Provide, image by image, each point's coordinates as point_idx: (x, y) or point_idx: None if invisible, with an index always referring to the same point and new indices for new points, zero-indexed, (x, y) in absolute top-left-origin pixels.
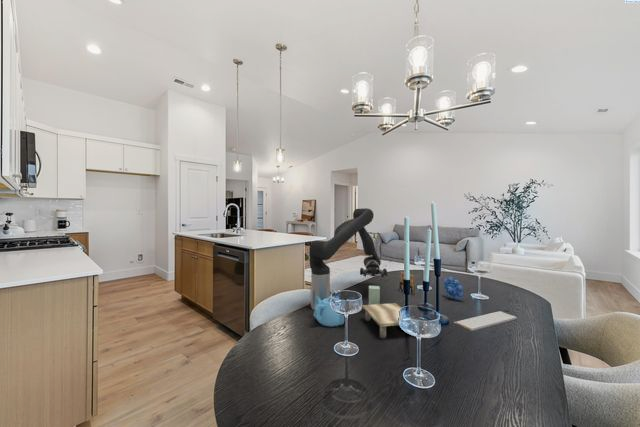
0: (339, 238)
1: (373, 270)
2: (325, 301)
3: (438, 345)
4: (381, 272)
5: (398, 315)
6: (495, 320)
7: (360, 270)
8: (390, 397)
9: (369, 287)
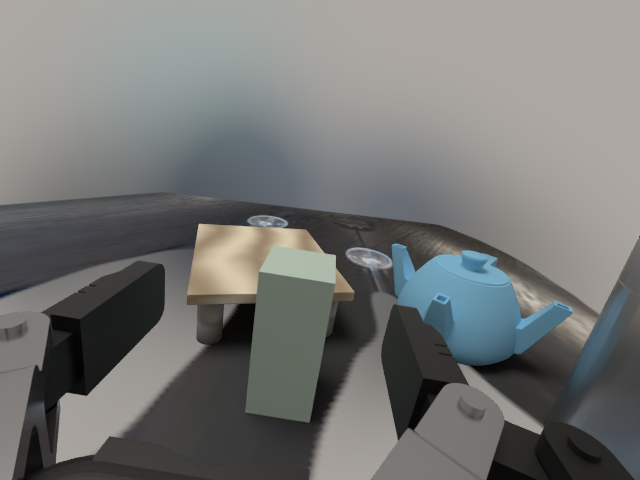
0: None
1: (198, 470)
2: (487, 266)
3: (179, 243)
4: (123, 284)
5: (240, 241)
6: None
7: (580, 431)
8: (310, 216)
9: (332, 263)
